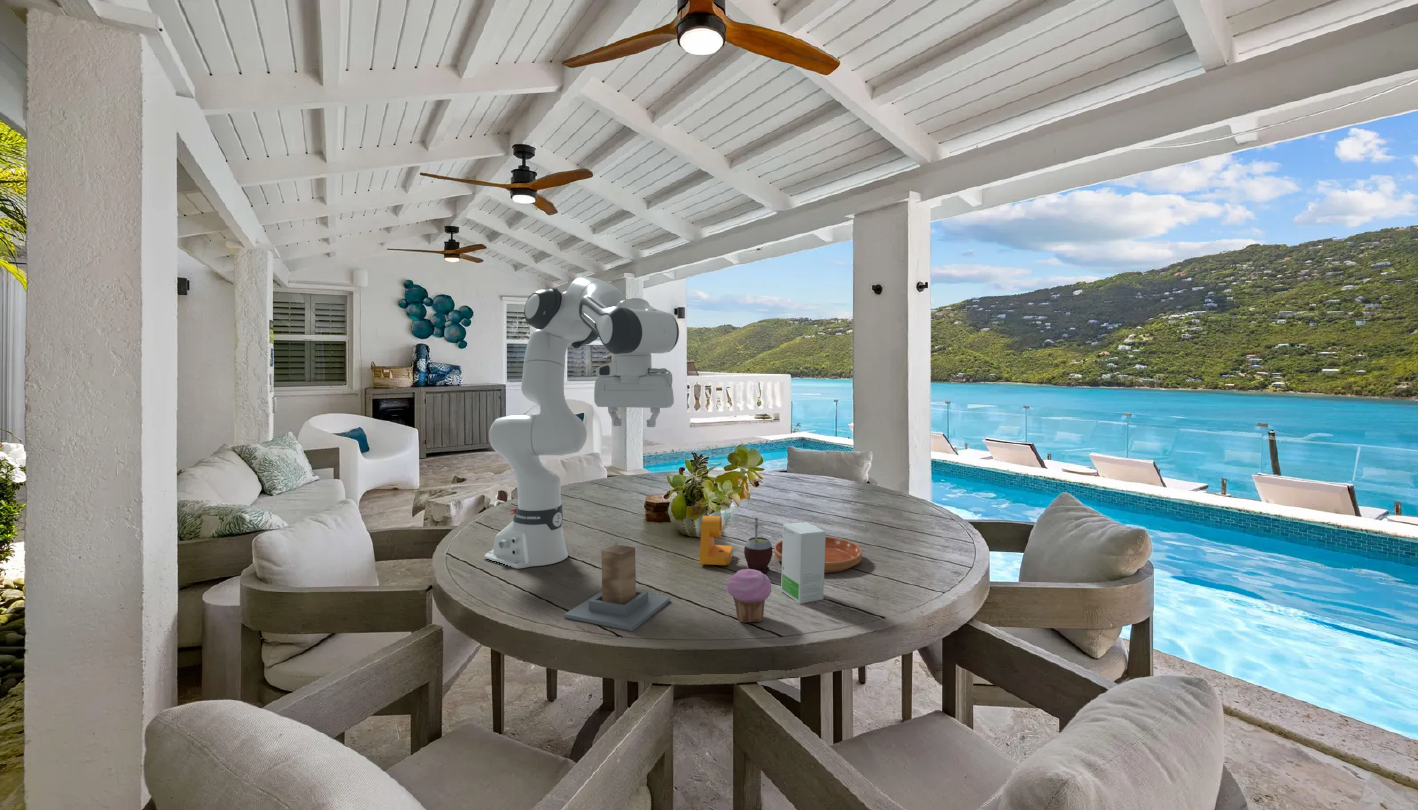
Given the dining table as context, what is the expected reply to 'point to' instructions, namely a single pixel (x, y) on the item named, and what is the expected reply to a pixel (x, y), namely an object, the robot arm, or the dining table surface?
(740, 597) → the cupcake
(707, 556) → the bracket
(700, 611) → the dining table surface
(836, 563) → the saucer
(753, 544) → the mate gourd
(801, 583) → the skincare box
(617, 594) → the block
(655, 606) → the housing
